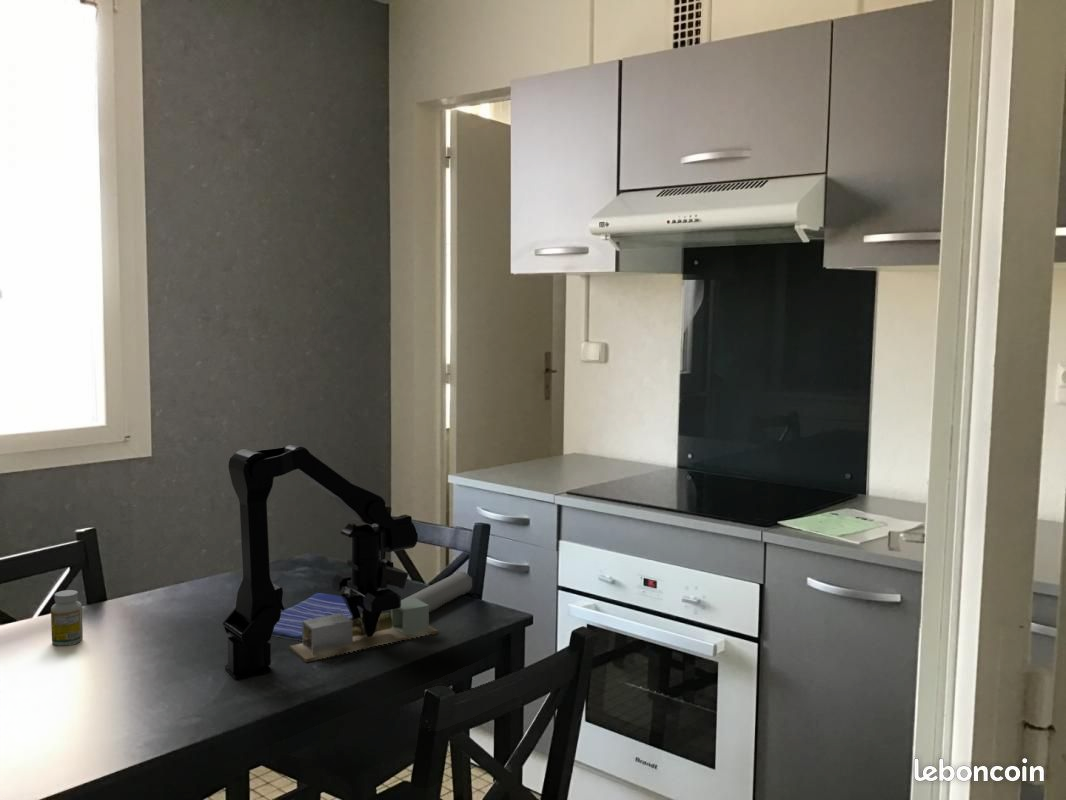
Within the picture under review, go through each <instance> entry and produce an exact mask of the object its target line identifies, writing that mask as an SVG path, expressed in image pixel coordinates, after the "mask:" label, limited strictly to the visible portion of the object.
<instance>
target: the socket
mask: <svg viewBox="0 0 1066 800" xmlns="http://www.w3.org/2000/svg"><path fill="white" fill-rule="evenodd" d="M403 599H404V600H403ZM403 599H401V607H400V608H396V609H391V610H390V615H391V618H392V628H393V629H395V630H396V631H398V632H400V633H401V634H403V635H404V636H405V635H409V634H414V633H419V632H423V631H428V630H429V626H430V620H429V619H430V613H429V605H427V604H426V603H424V602H422V601H420V600H418V599H416V598H409V599H405V598H403Z"/></svg>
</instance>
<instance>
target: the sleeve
mask: <svg viewBox="0 0 1066 800" xmlns="http://www.w3.org/2000/svg"><path fill="white" fill-rule="evenodd" d="M310 629H311V630H312V643H311V641H310V637H309V631H310ZM301 643H302V646H303V647H304V648H305V649H307V650H308V651H309V652H310V653H312V654H313V655H314V654H318V653H323V652H327V651H332V650H337V649H341V648H346V647H350V646H353V621H352V620H351V619H349V618H348V617H346V616H345V615H343V614H342V613H340V614H334V615H329V616H324V617H319V618H314V619H308V620H303V621H302V641H301Z"/></svg>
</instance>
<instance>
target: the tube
mask: <svg viewBox="0 0 1066 800" xmlns="http://www.w3.org/2000/svg"><path fill="white" fill-rule="evenodd" d="M472 588H473V578H472V577H471V576H470V575H469V574H468V573H467V572H466V571H462V570H461V571H459V570H457V571H456V572H455V573H453V574H452V575H449V576H448V577H445V578H443V579H441V580H439V581H437V582H435V583H433V584H432V585H429V586H426V587H425V588H423V589H422V590H419V591H418V592H415V593H413V594H411V595H410V596H407V597H405V598H403V599H402V600H404V599H409V598H416V599H418V600H420V601H422V602H424V603H426V604H427V605H429V612H430V613H432V612H433V611H435V610H437V609H439V608H441V607H442V605H443V606H445V605H446V604H448V603H450V602H452V601H453V600H452V599H454V598H456V599H458V598H457V596H459V597H461V596H463V595H465V594H468V593H469V592H470V590H471V589H472ZM460 595H461V596H460ZM451 600H452V601H451ZM454 600H455V599H454ZM449 601H450V602H449ZM447 602H448V603H447ZM445 603H446V604H445ZM444 604H445V605H444ZM440 606H441V607H440Z"/></svg>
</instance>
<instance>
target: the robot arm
mask: <svg viewBox="0 0 1066 800" xmlns="http://www.w3.org/2000/svg"><path fill="white" fill-rule="evenodd" d="M227 468H228V471H229V475H230V476H229V477H230V481H231V485H232V487H233V489H234V492H235V494H236V497H237V499H238V501H239V516H240V536H241V538H240V539H241V555H242V556H241V559H242V580H241V583H240V585H239V588H238V590H237V595H236V602H235V608H234V609H233V610H232V611H231V612H230V614H229V615H228V616H227V617H226V619H225V620H224V621H223V623H222V626H223V629H224V631H225V633H226V634H227V635H229V636H228V637H227V664H225V665H224V669H225V670H226V671H227V672H228V673H229V674H230V675H231V676H232V677H233V679H235V680H241V679H245V678H249V677H253V676H258V675H262V674H267V673H271V672H272V668H271V663H272V659H271V658H272V657H271V656H272V653H271V650H272V649H271V647H272V646H271V645H272V643H270V642H269V641H271V638H272V637H273V636H272V632H273V629H274V626H275V625H276V623H277V622H278V621H279V620H280V617H281V612H282V611H284V610H285V607H284V605H283V595H284V594H283V593H284V591H283V590H284V589H283V587H282V586H281V585H278V584H276V583H274V582H273V581H272V579H271V568H270V566H271V565H270V548H269V546H270V545H269V525H268V524H269V523H268V519H269V518H268V498H269V496H270V494H271V490H272V489H273V486H274V480H275V479H274V478H276V477H281V476H283V475H286V474H288V473H290V472H293V471H296V472H297V473H299V474H300V475H302V476H303V477H304V478H305V479H308V480H309V481H311V482H312V484H314V485H316V486H318V488H320V489H322V490H323V491H324V492H326V493H328V494H329V495H330V496H331V497H333V498H334V499H335V501H337V503H338V505H339V507H340V508H341V509H342V510H343V512H344V513H346V515H348V516H349V517H350V518H352V519H354V520H357V521H360V522H361V523H365V524H358V525H356V524H355V523H353V522H348V524H347V525H346V526H345V527H344V528H342V530H341V531H340V534H341V536H345V537H347V538H349V539H350V559H347V560H346V566H348V567H350V572H349V571H348V572H343V573H337V574H336V575H334V577H333V578H332V589H333V590H334V591H337V592H341V591H342V589H343V588H344V593H342V594H340V596H341V597H342V598H343V600H344V602H345V604H346V606H347V607H348V609H349V612H350V614H351V616H352V618H353V620H354V619H356V618H359V617H361V619H362V622H363V626H364V629H365V632H366V634H367V636H368V637H371V636H373V634H374V631H375V628H376V625H377V622H378V619H379V616H380V614H382V612H385V611H391V609H396V608H400V607H401V600H402V596H401V595H399V594H398V593H397V592H395V591H393V590H391V589H390V588H388V586H393V587H396V588H397V587H398V588H399V589H403V590H404V588H405V585H406V583H407V580H408V576H409V573H408V571H407V572H406V571H404V570H403V569H401V568H398V567H395V565H394V562H393V561H391V560H389V559H384V558H383V559H382V558H381V556H382V555H381V553H382V550H383V551H384V552H385V553H392V552H398V551H402V550H408V549H413V548H414V547H416V545H417V542H418V537H419V534H418V533H417V529H416V527H415V524H414V523H413V521H412V519H413V518H412V516H411V515H408V514H400V515H399V516H394V517H392V516H391V514H390V512H389V511H388V510H387V508H386V506H387V505H386V504H387V503H386V500H385V499H384V498H383V497H382V496H380V495H378V494H377V493H375V492H373V491H369V490H367V489H365V488H362V487H360V486H358V485H356V484H353V483H351V481H349V480H347V478H345V477H344V476H342V475H341V474H339V473H338V472H336V471H335V470H334V469H332V468H331V467H330V466H329V465H327V464H326V463H325V462H323V461H321V460H320V459H319V458H318V457H316V456H314V454H312V453H311V452H310V451H309V450H308V449H307V448H306V447H305V446H300V445H296V444H289V445H285V446H281V447H274V448H265V449H259V450H258V449H257V450H254V449H249V448H242V449H240V450H238V451H236V452H235V453H234V454H233V455H232V456H231V457H230V458H229V461H228V467H227ZM374 524H375V525H376V526H372V525H374ZM381 549H382V550H381Z"/></svg>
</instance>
